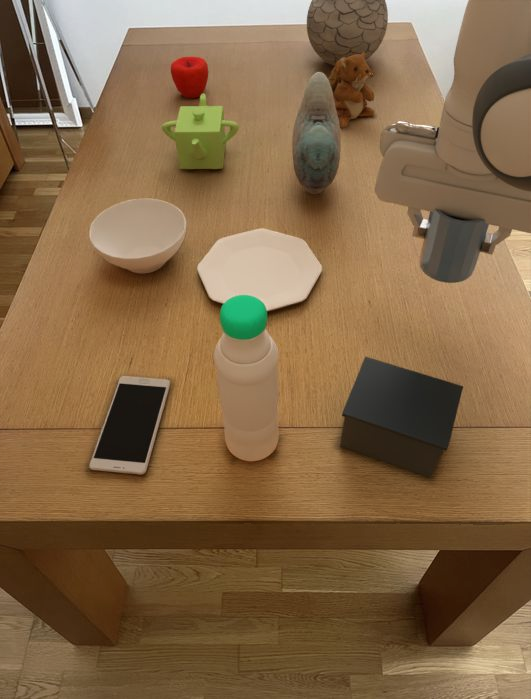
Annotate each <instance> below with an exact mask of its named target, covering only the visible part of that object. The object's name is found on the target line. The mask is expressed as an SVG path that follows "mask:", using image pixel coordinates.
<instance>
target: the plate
mask: <svg viewBox="0 0 531 699" xmlns="http://www.w3.org/2000/svg"><path fill="white" fill-rule="evenodd" d="M196 271H197V274H198V275H199V278H200V280H201V283H202V284H203V287H204V289H205V291H206V294H207V296H208V298H209V300H211V301H212V302H214V303H217V304H220V305H223V304H224V303H225V302H226V301H227V300H229V299H230V298H232V297H235V296H236V295H237V296H239V295H249V296H250V295H251V296H254V297H255V298H258V299H259V300H261V302H263V303H264V305H265V307H266V309H267V313H269V312H273V311H276V310H280V309H283V308H286V307H290V306H294V305H297V304H301V303H303V302H304V301H305V300H307V299H308V297H309V295H310V294H311V292H312V290H313V288H314V286H315V284H316V282H317V281H318V279H319V278H320V275H321V274H322V273H323V266H322V264H321V263H320V261H319V259H318V258H317V257H316V255H315V253H314V252H313V250H312V249H311V248H310V246H309V245H308V243H307V242H306V240H304V239H303V238H301V237H297V236H293V235H290V234H286V233H282V232H279V231H275V230H271V229H268V228H255V229H251V230H247V231H244V232H243V231H242V232H240V233H235V234H231V235H227V236H223V237H221V238H219V239H218V240H216V241H215V242H214V244H212V246H211V248H210V249H209V251H207V253H206V254H205V255H204V257H203V258H202V259H201V261H199V263H198V264H197V266H196Z"/></svg>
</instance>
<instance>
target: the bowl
mask: <svg viewBox="0 0 531 699" xmlns="http://www.w3.org/2000/svg"><path fill="white" fill-rule="evenodd" d="M186 232H187V220H186V217H185V214H184V213H183V211H182V210H181V209H180V208H179V207H178V206H176V205H175V204H173V203H171V202H168V201H165V200H162V199H159V198H134V199H128V200H124V201H121V202H118V203H115V204H113V205H111V206H109V207H107V208H105V209H104V210H102V211H101V212H100V213H99V214H98V215H97V216H96V217H95V218H94V220H93V221H92V222H91V224H90V227H89V231H88V235H89V242H90V243H91V246H92V247H93V249H94V250H95V252H96V253H97V254H98V255H99V256H100V257H101V258H103V259H104V260H105V261H107V262H108V263H110V264H111V265H113V266H117V267H118V268H121V269H124V270H128V271H129V272H131V273H135V274H149V273H153V272H155V271H158V270H159V269H161V268H162V267H163V266H164V265H165V264H166V263H167V262H168V261H169V260H170V259H171V258H172V257H173V256H174V255H175V254H176V253H177V252H178V251H179V249H180V248H181V246H182V244H183V243H184V241H185V237H186Z"/></svg>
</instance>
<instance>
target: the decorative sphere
mask: <svg viewBox="0 0 531 699" xmlns="http://www.w3.org/2000/svg"><path fill="white" fill-rule="evenodd" d="M388 11H389V10H388V6H387V2H386V0H311V1H310V3H309V7H308V10H307V15H306V32H307V37H308V40H309V43H310V46H311V47H312V49H313V51H314V52H315V53H316V55H317V56H318V57H319V58H320V59H321V60H322V61H323V62H325V63H327V64H329V65H330V66H333V67H335V65H336V63H337V61H339V60H340V59H341V58H343V57H345V58H348V57H349V56H352V55H356V54H362V53H363V52H364V53H366V57H365V61H367V60H368V59H370V58H371V57H372V56H373V55H374V54H375V53H376V52H377V50H378V49H379V48H380V46H381V44H382V42H383V40H384V38H385V36H386V32H387V29H388V21H389V12H388Z"/></svg>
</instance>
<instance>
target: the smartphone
mask: <svg viewBox="0 0 531 699" xmlns="http://www.w3.org/2000/svg"><path fill="white" fill-rule="evenodd" d="M115 387H116V388H115V390H114V393H113V396H112V399H111V402H110V405H109V407H108V410H107V412H106V416H105V419H104V421H103V425H102V427H101V429H100V433H99V435H98V438H97V441H96V444H95V446H94V450H93V453H92V455H91V459H90V462H89V464H88V468H89V469H90V471H91V470H92V471H101V472H110V473H120V474H131V475H139V476H140V475H145V474H146V473H147V469H148V466H149V463H150V459H151V455H152V452H153V449H154V444H155V442H156V439H157V438H156V437H157V434H158V430H159V426H160V423H161V419H162V416H163V412H164V409H165V406H166V402H167V398H168V396H169V395H168V394H169V391H170V387H171V380H170V379H167V378H156V377H155V378H154V377H143V376H133V375H132V376H131V375H122V376H119V379H118V381H117V385H116V386H115Z"/></svg>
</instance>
